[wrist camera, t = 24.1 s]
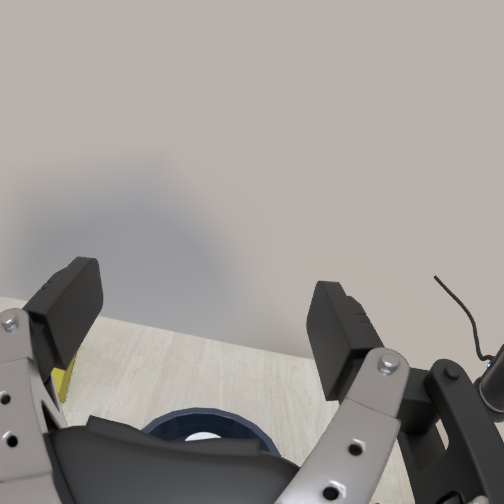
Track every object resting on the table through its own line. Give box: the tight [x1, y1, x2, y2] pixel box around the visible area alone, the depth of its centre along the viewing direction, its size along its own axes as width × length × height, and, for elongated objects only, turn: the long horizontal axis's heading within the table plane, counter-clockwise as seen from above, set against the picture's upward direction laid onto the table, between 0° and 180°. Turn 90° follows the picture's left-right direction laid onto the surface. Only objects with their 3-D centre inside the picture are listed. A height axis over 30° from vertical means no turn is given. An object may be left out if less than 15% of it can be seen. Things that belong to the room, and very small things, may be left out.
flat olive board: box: [51, 352, 77, 402], centre depth 30 cm, size 12×2×24 cm
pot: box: [141, 408, 281, 457], centre depth 22 cm, size 15×15×6 cm
